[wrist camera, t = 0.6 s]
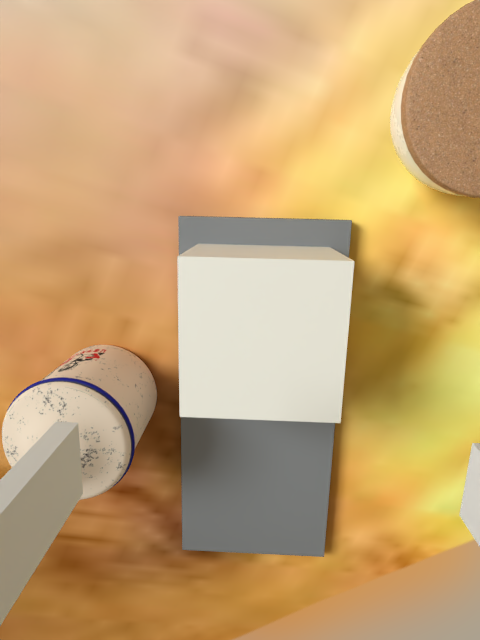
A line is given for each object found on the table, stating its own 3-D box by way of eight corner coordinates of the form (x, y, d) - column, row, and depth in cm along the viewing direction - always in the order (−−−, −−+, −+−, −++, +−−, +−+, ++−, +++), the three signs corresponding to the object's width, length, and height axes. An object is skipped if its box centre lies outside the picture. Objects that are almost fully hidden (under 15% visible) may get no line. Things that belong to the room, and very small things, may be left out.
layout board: (184, 540, 42) (182, 551, 41) (181, 216, 35) (177, 216, 33) (322, 546, 42) (324, 558, 40) (348, 220, 34) (352, 220, 33)
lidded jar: (393, 220, 34) (442, 225, 25) (354, 76, 32) (392, 23, 23) (535, 169, 33) (641, 156, 24) (505, 15, 31) (610, -66, 21)
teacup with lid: (104, 318, 37) (36, 368, 26) (182, 392, 38) (150, 469, 27) (16, 409, 39) (-81, 490, 28) (92, 475, 41) (29, 578, 30)
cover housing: (198, 366, 36) (179, 416, 28) (198, 243, 34) (177, 256, 25) (320, 370, 36) (340, 423, 27) (329, 246, 34) (354, 260, 25)
